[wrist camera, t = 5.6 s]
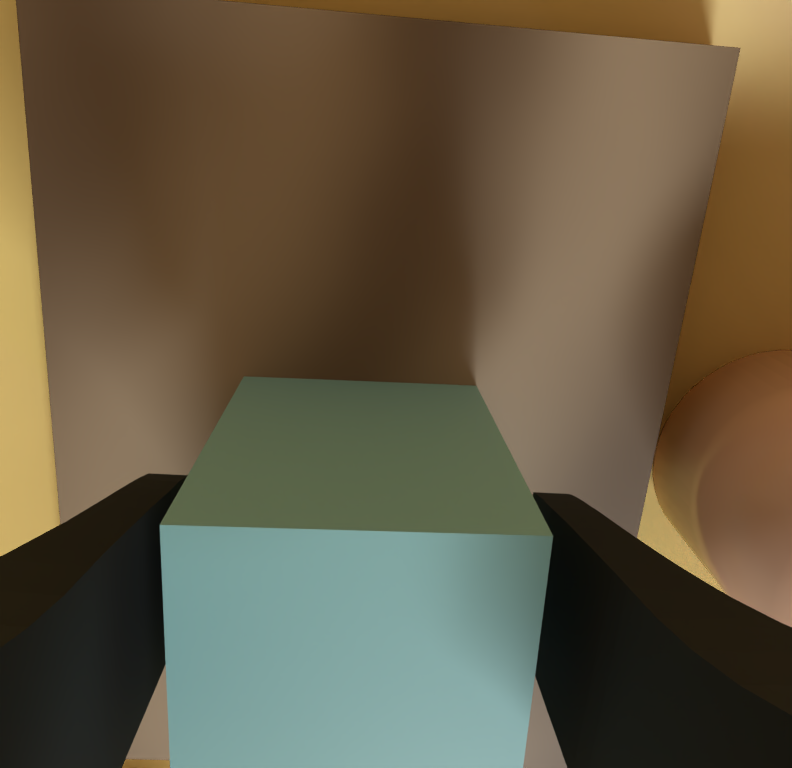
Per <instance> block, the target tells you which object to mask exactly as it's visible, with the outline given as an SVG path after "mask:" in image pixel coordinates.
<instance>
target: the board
mask: <svg viewBox="0 0 792 768" xmlns="http://www.w3.org/2000/svg"><path fill="white" fill-rule="evenodd" d="M16 6H17V18H18V30H19V42H20V53H21V65H22V77H23V89H24V101H25V112H26V124H27V136H28V148H29V159H30V171H31V183H32V195H33V206H34V218H35V230H36V242H37V253H38V265H39V277H40V289H41V300H42V312H43V324H44V336H45V347H46V359H47V371H48V383H49V394H50V406H51V418H52V430H53V441H54V453H55V465H56V477H57V488H58V500H59V512H60V524H63V523H64V522H66V521H68V520H69V519H71V518H73V517H74V516H76V515H78V514H79V513H81V512H83V511H84V510H86V509H88V508H89V507H91V506H93V505H94V504H96V503H98V502H99V501H101V500H103V499H104V498H106V497H108V496H109V495H111V494H113V493H114V492H116V491H117V490H119V489H121V488H122V487H124V486H126V485H127V484H129V483H131V482H133V481H134V480H136V479H138V478H140V477H142V476H144V475H146V474H148V473H151V474H172V475H188V474H189V472H190V470H191V469H192V467H193V465H194V463H195V462H196V460H197V458H198V456H199V455H200V453H201V451H202V449H203V448H204V446H205V444H206V442H207V440H208V439H209V437H210V435H211V433H212V432H213V430H214V428H215V426H216V425H217V423H218V421H219V419H220V418H221V416H222V414H223V412H224V411H225V409H226V407H227V405H228V403H229V402H230V400H231V398H232V396H233V395H234V393H235V391H236V389H237V388H238V386H239V384H240V382H241V381H242V379H243V377H244V376H247V377H272V378H298V379H323V380H347V381H372V382H397V383H422V384H447V385H472V386H477V388H478V390H479V392H480V394H481V396H482V398H483V399H484V401H485V403H486V405H487V407H488V409H489V411H490V413H491V415H492V417H493V419H494V421H495V423H496V425H497V427H498V429H499V431H500V433H501V435H502V437H503V439H504V441H505V443H506V445H507V447H508V449H509V450H510V452H511V454H512V456H513V458H514V460H515V462H516V464H517V466H518V468H519V470H520V472H521V474H522V476H523V478H524V480H525V482H526V484H527V486H528V488H529V490H530V492H531V494H532V496H533V492H540V493H560V494H571V495H573V496H575V497H577V498H579V499H580V500H582V501H584V502H585V503H587V504H588V505H590V506H591V507H593V508H594V509H596V510H597V511H599V512H600V513H602V514H603V515H605V516H606V517H607V518H609V519H610V520H612V521H613V522H614V523H616V524H617V525H619V526H620V527H622V528H623V529H624V530H626V531H627V532H629V533H630V534H632V535H633V536H634V537H636V538H637V535H638V530H639V525H640V521H641V516H642V511H643V506H644V502H645V497H646V492H647V487H648V483H649V478H650V473H651V468H652V464H653V459H654V454H655V450H656V445H657V440H658V435H659V431H660V426H661V421H662V416H663V412H664V407H665V402H666V397H667V393H668V388H669V383H670V379H671V374H672V369H673V364H674V360H675V355H676V350H677V345H678V341H679V336H680V331H681V327H682V322H683V317H684V312H685V308H686V303H687V298H688V293H689V289H690V284H691V279H692V274H693V270H694V265H695V260H696V256H697V251H698V246H699V241H700V237H701V232H702V227H703V222H704V218H705V213H706V208H707V204H708V199H709V194H710V189H711V185H712V180H713V175H714V170H715V166H716V161H717V156H718V151H719V147H720V142H721V137H722V133H723V128H724V123H725V118H726V114H727V109H728V104H729V99H730V95H731V90H732V85H733V81H734V76H735V71H736V66H737V62H738V57H739V52H740V48H735V47H724V46H713V45H703V44H692V43H681V42H670V41H659V40H648V39H637V38H626V37H615V36H604V35H593V34H582V33H571V32H560V31H549V30H538V29H527V28H516V27H505V26H495V25H484V24H473V23H462V22H451V21H440V20H429V19H418V18H407V17H396V16H385V15H374V14H363V13H352V12H341V11H330V10H319V9H308V8H297V7H287V6H276V5H265V4H254V3H243V2H232V1H221V0H16ZM126 759H149V760H170V753H169V730H168V707H167V684H166V664H165V667H164V669H163V672H162V674H161V676H160V679H159V681H158V684H157V686H156V688H155V691H154V693H153V695H152V698H151V700H150V703H149V705H148V707H147V710H146V712H145V714H144V717H143V719H142V721H141V724H140V726H139V728H138V731H137V733H136V735H135V738H134V740H133V743H132V745H131V747H130V750H129V752H128V754H127V757H126ZM523 768H567V766H566V763H565V760H564V757H563V754H562V751H561V749H560V746H559V743H558V740H557V737H556V734H555V731H554V729H553V726H552V723H551V720H550V717H549V714H548V712H547V709H546V706H545V703H544V700H543V697H542V694H541V692H540V689H539V686H538V683H537V680H536V677H535V679H534V687H533V695H532V703H531V710H530V718H529V726H528V733H527V741H526V749H525V756H524V764H523Z"/></svg>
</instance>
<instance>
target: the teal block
mask: <svg viewBox="0 0 792 768" xmlns="http://www.w3.org/2000/svg"><path fill="white" fill-rule="evenodd" d="M552 541H553V535H552V533H551V531H550V529H549V527H548V525H547V523H546V521H545V519H544V517H543V515H542V513H541V511H540V509H539V507H538V505H537V503H536V501H535V500H534V498H533V496H532V494H531V492H530V490H529V488H528V486H527V484H526V482H525V480H524V478H523V476H522V474H521V472H520V470H519V468H518V466H517V464H516V462H515V460H514V458H513V456H512V454H511V452H510V450H509V449H508V447H507V445H506V443H505V441H504V439H503V437H502V435H501V433H500V431H499V429H498V427H497V425H496V423H495V421H494V419H493V417H492V415H491V413H490V411H489V409H488V407H487V405H486V403H485V401H484V399H483V398H482V396H481V394H480V392H479V390H478V388H477V386H472V385H447V384H422V383H397V382H372V381H347V380H323V379H298V378H272V377H247V376H244V377H243V379H242V381H241V382H240V384H239V386H238V388H237V389H236V391H235V393H234V395H233V396H232V398H231V400H230V402H229V403H228V405H227V407H226V409H225V411H224V412H223V414H222V416H221V418H220V419H219V421H218V423H217V425H216V426H215V428H214V430H213V432H212V433H211V435H210V437H209V439H208V440H207V442H206V444H205V446H204V448H203V449H202V451H201V453H200V455H199V456H198V458H197V460H196V462H195V463H194V465H193V467H192V469H191V470H190V472H189V474H188V476H187V478H186V479H185V481H184V483H183V485H182V486H181V488H180V490H179V492H178V493H177V495H176V497H175V499H174V500H173V502H172V504H171V506H170V507H169V509H168V511H167V513H166V515H165V516H164V518H163V520H162V522H161V523H160V545H161V568H162V591H163V614H164V637H165V661H166V684H167V707H168V730H169V753H170V768H523V764H524V756H525V749H526V741H527V733H528V726H529V718H530V710H531V703H532V695H533V687H534V679H535V672H536V664H537V656H538V649H539V641H540V633H541V626H542V618H543V610H544V603H545V595H546V587H547V580H548V572H549V564H550V556H551V549H552Z"/></svg>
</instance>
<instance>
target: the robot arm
mask: <svg viewBox="0 0 792 768" xmlns="http://www.w3.org/2000/svg"><path fill="white" fill-rule="evenodd" d="M187 476H188V475H172V474H151V473H148V474H146V475H144V476H142V477H140V478H138V479H136V480H134V481H133V482H131V483H129V484H127V485H126V486H124V487H122V488H121V489H119V490H117V491H116V492H114V493H113V494H111V495H109V496H108V497H106V498H104V499H103V500H101V501H99V502H98V503H96V504H94V505H93V506H91V507H89V508H88V509H86V510H84V511H83V512H81V513H79V514H78V515H76V516H74V517H73V518H71V519H69V520H68V521H66V522H64V523H63V524H61V525H59V526H57V527H55V528H53V529H51V530H50V531H48V532H46V533H44V534H42V535H40V536H38V537H37V538H35V539H33V540H31V541H29V542H27V543H25V544H24V545H22V546H20V547H18V548H16V549H14V550H12V551H11V552H9V553H7V554H5V555H3V556H0V768H122V766H123V764H124V761H125V759H126V757H127V754H128V752H129V750H130V747H131V745H132V743H133V740H134V738H135V735H136V733H137V731H138V728H139V726H140V724H141V721H142V719H143V717H144V714H145V712H146V710H147V707H148V705H149V703H150V700H151V698H152V695H153V693H154V691H155V688H156V686H157V684H158V681H159V679H160V676H161V674H162V672H163V669H164V667H165V664H166V661H165V637H164V614H163V591H162V568H161V545H160V523H161V522H162V520H163V518H164V516H165V515H166V513H167V511H168V509H169V507H170V506H171V504H172V502H173V500H174V499H175V497H176V495H177V493H178V492H179V490H180V488H181V486H182V485H183V483H184V481H185V479H186V478H187ZM533 498H534V500H535V501H536V503H537V505H538V507H539V509H540V511H541V513H542V515H543V517H544V519H545V521H546V523H547V525H548V527H549V529H550V531H551V533H552V535H553V541H552V549H551V556H550V564H549V572H548V580H547V587H546V595H545V603H544V610H543V618H542V626H541V633H540V641H539V649H538V656H537V664H536V672H535V677H536V680H537V683H538V686H539V689H540V692H541V694H542V697H543V700H544V703H545V706H546V709H547V712H548V714H549V717H550V720H551V723H552V726H553V729H554V731H555V734H556V737H557V740H558V743H559V746H560V749H561V751H562V754H563V757H564V760H565V763H566V766H567V768H792V627H790V626H788V625H785V624H783V623H781V622H779V621H777V620H775V619H773V618H771V617H769V616H767V615H765V614H763V613H761V612H759V611H757V610H755V609H753V608H751V607H749V606H747V605H745V604H743V603H742V602H740V601H738V600H736V599H734V598H732V597H730V596H728V595H726V594H725V593H723V592H721V591H719V590H718V589H716V588H714V587H712V586H711V585H709V584H707V583H706V582H704V581H702V580H701V579H699V578H697V577H696V576H694V575H693V574H691V573H689V572H688V571H686V570H684V569H683V568H681V567H679V566H678V565H676V564H675V563H673V562H672V561H670V560H669V559H667V558H665V557H664V556H662V555H661V554H659V553H658V552H656V551H655V550H653V549H652V548H650V547H649V546H648V545H646V544H645V543H643V542H642V541H640V540H639V539H637V538H636V537H634V536H633V535H632V534H630V533H629V532H627V531H626V530H624V529H623V528H622V527H620V526H619V525H617V524H616V523H614V522H613V521H612V520H610V519H609V518H607V517H606V516H605V515H603V514H602V513H600V512H599V511H597V510H596V509H594V508H593V507H591V506H590V505H588V504H587V503H585V502H584V501H582V500H580V499H579V498H577V497H575V496H573V495H571V494H560V493H540V492H533Z"/></svg>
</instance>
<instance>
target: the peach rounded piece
mask: <svg viewBox="0 0 792 768" xmlns="http://www.w3.org/2000/svg"><path fill="white" fill-rule="evenodd" d="M653 481H654V487H655V492H656V496H657V499H658V502H659V504H660V506H661V508H662V510H663V512H664V514H665V516H666V517H667V519H668V520H669V521H670V523H671V524H672V525H673V527H674V528H675V529H676V531H677V532H678V533H679V534H680V536H681V537H682V538H683V539H684V541H685V542H686V543H687V545H688V546H689V547H690V548H691V550H692V551H693V552H694V554H695V555H696V556H697V557H698V559H699V560H700V561H701V562H702V564H703V565H704V566H705V568H706V569H707V570H708V571H709V573H710V574H711V575H712V576H713V578H714V579H715V580H716V582H717V583H718V584H719V585H720V587H721V588H722V589H723V591H724V592H725V593H726V594H727V595H728V596H730V597H732V598H734V599H736V600H738V601H740V602H742V603H743V604H745V605H747V606H749V607H751V608H753V609H755V610H757V611H759V612H761V613H763V614H765V615H767V616H769V617H771V618H773V619H775V620H777V621H779V622H781V623H783V624H785V625H788V626H790V627H792V350H775V351H768V352H761V353H757V354H753V355H749V356H746V357H743V358H741V359H738V360H735V361H733V362H731V363H729V364H727V365H725V366H723V367H721V368H719V369H717V370H716V371H714V372H713V373H711V374H710V375H708V376H707V377H705V378H704V379H703V380H701V381H700V382H699V383H698V384H697V385H696V386H694V387H693V388H692V389H691V390H690V391H689V392H688V393H687V394H686V395H685V396H684V397H683V399H682V400H681V401H680V402H679V403H678V405H677V406H676V407H675V409H674V410H673V411H672V413H671V415H670V416H669V418H668V420H667V422H666V423H665V425H664V427H663V430H662V432H661V434H660V437H659V440H658V443H657V447H656V450H655V456H654V463H653Z"/></svg>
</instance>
